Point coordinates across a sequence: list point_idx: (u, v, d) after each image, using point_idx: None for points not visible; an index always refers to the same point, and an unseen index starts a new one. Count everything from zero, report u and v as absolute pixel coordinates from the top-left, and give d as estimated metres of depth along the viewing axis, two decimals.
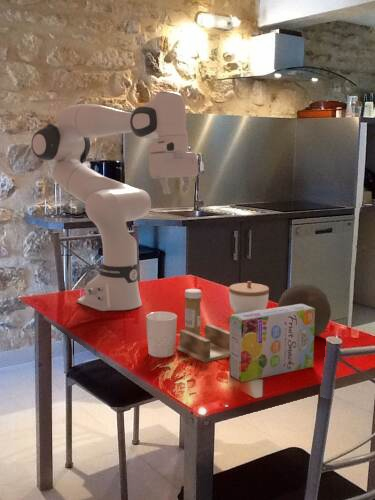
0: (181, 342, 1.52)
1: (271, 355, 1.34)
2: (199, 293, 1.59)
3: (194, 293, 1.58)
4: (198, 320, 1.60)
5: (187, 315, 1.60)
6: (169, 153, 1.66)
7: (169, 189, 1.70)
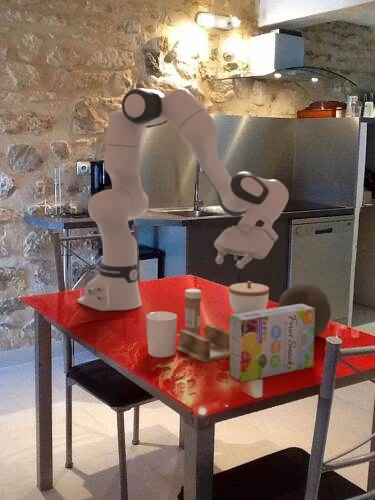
0: (181, 342, 1.52)
1: (271, 355, 1.34)
2: (199, 293, 1.59)
3: (194, 293, 1.58)
4: (198, 320, 1.60)
5: (187, 315, 1.60)
6: None
7: None
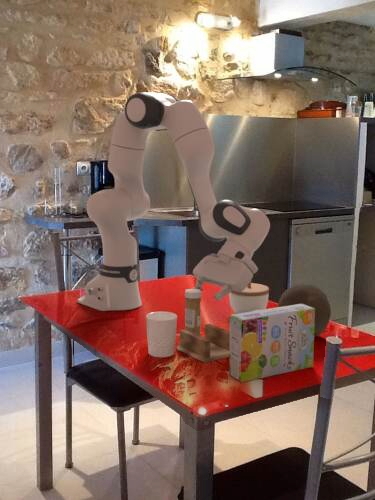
0: (181, 342, 1.52)
1: (271, 355, 1.34)
2: (199, 293, 1.59)
3: (194, 293, 1.58)
4: (198, 320, 1.60)
5: (187, 315, 1.60)
6: None
7: None
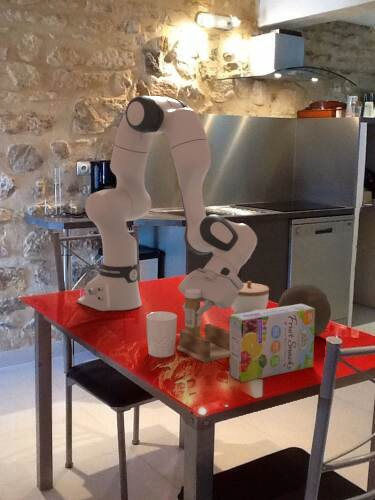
0: (181, 342, 1.52)
1: (271, 355, 1.34)
2: (199, 293, 1.59)
3: (194, 293, 1.58)
4: (198, 320, 1.60)
5: (187, 315, 1.60)
6: None
7: None
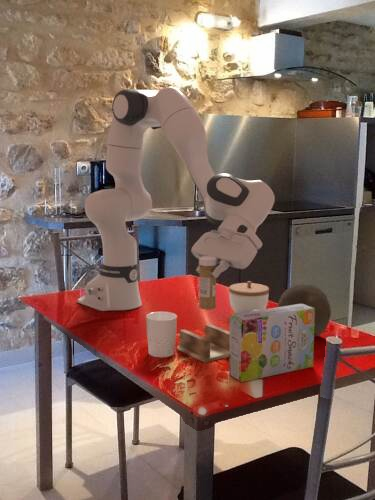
0: (181, 342, 1.52)
1: (271, 355, 1.34)
2: (215, 260, 1.48)
3: (209, 260, 1.47)
4: (213, 290, 1.49)
5: (202, 285, 1.48)
6: None
7: None
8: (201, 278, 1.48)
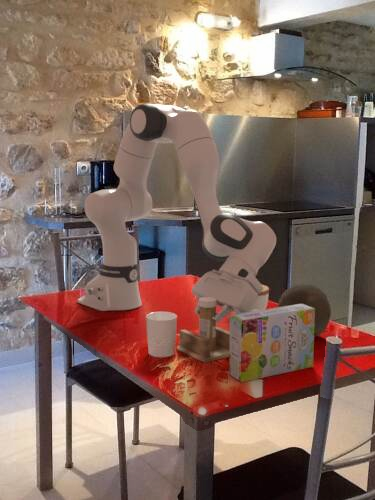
0: (181, 342, 1.52)
1: (271, 355, 1.34)
2: (215, 302, 1.47)
3: (209, 302, 1.47)
4: (213, 331, 1.49)
5: (202, 326, 1.48)
6: None
7: None
8: (201, 319, 1.48)
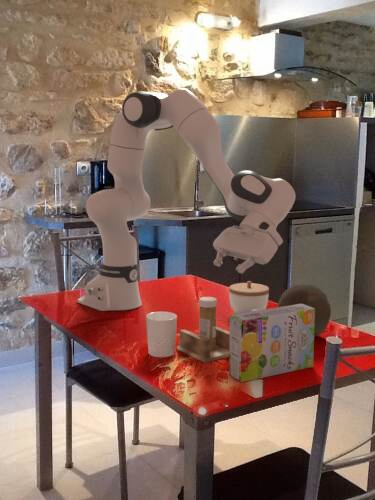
0: (181, 342, 1.52)
1: (271, 355, 1.34)
2: (215, 302, 1.47)
3: (209, 302, 1.47)
4: (213, 331, 1.49)
5: (202, 326, 1.48)
6: None
7: None
8: (201, 319, 1.48)
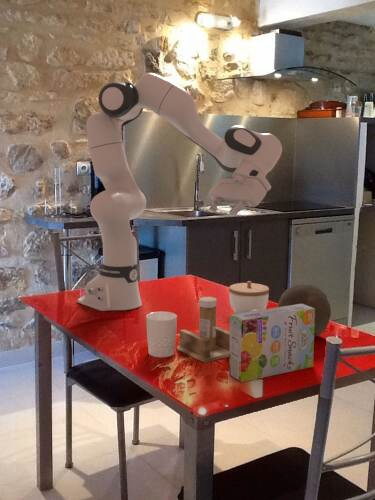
0: (181, 342, 1.52)
1: (271, 355, 1.34)
2: (215, 302, 1.47)
3: (209, 302, 1.47)
4: (213, 331, 1.49)
5: (202, 326, 1.48)
6: None
7: None
8: (201, 319, 1.48)
